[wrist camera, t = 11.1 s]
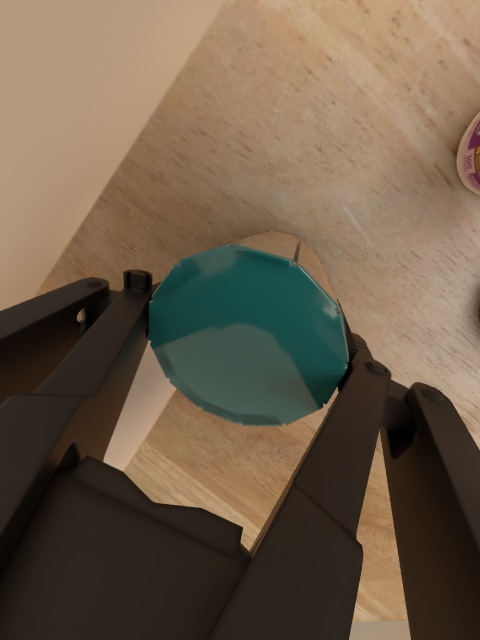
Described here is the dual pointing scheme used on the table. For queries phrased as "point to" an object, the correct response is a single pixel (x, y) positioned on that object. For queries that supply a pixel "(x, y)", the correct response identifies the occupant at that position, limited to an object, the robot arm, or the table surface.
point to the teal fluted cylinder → (251, 330)
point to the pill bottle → (470, 156)
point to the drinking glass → (139, 411)
